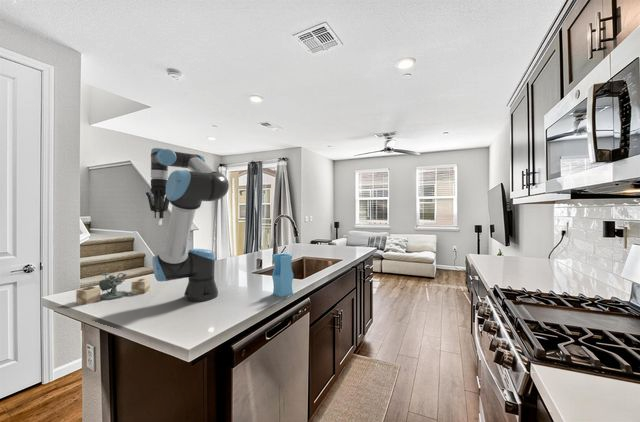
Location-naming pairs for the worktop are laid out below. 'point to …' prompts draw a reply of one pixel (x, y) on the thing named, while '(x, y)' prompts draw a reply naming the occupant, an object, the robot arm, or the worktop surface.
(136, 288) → the marked cube
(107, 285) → the figurine
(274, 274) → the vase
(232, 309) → the worktop surface
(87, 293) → the marked cube
